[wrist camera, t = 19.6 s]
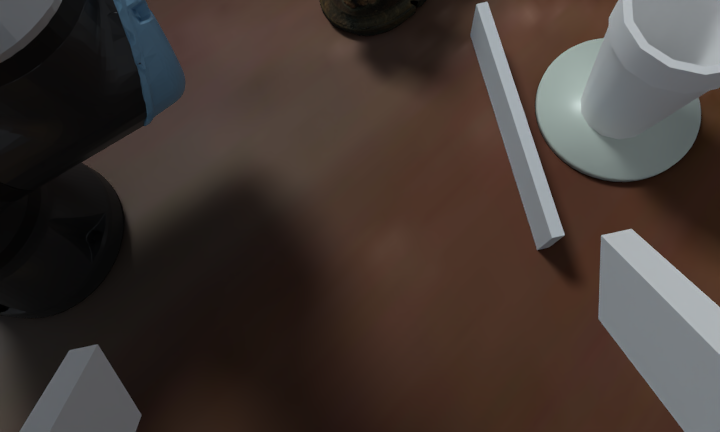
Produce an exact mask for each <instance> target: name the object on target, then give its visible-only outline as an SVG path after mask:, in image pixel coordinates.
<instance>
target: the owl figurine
mask: <svg viewBox="0 0 720 432" xmlns="http://www.w3.org/2000/svg"><path fill="white" fill-rule="evenodd" d="M410 1H419V2H418V5H417V7H420V6H421V5H422V4H423V3H424V2H425V1H426V0H320V3H321V4H320V5H321V8H322V10H323V13H324V14H325V16H326V17H327V18H328V20H329V21H330V22H331V24H332V25H333V26H336V27H338V28H340V29H342V30H345V31H347V32H351V33H355V34H358V35H368V36H370V35H375V34H379V33H383V32H387V31H389V30H391V29H393V28H395V27H397V26H398V25H400V24H401V23H402V22H404V21H405V20H406V19H407V18H408V17H410V16H412V15H413V14H414V13H415V10H416V9H415V8H416V6H414V5H413V4H411V3H410Z"/></svg>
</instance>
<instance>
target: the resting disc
mask: <svg viewBox="0 0 720 432" xmlns="http://www.w3.org/2000/svg"><path fill="white" fill-rule="evenodd" d="M603 39H604V38H602V39H595V40H590V41H586V42H583V43H581V44H578V45H576V46H574V47H572V48H570V49H568V50H567V51H565V52H564V53H562V54H561V55H560V56H559V57H557V58H556V59H555V60H554V61H553V62H552V64H551V65H550V66H549V67H548V69H547V70H546V72H545V74H544V75H543V77H542V79H541V82H540V84H539V86H538V89H537V93H536V98H535V115H536V120H537V124H538V127H539V130H540V132H541V134H542V136H543V138H544V140H545V142H546V143H547V145H548V146H549V147H550V149H551V150H552V151H553V152H554V153H555V154H556V155H557V156H558V157H559V158H560V159H561V160H562V161H563V162H564V163H566V164H567V165H569V166H570V167H572V168H573V169H575V170H577V171H579V172H581V173H583V174H585V175H588V176H590V177H593V178H597V179H601V180H605V181H612V182H632V181H639V180H643V179H648V178H650V177H653V176H656V175H658V174H660V173H662V172H664V171H666V170H667V169H668V168H670V167H671V166H673V165H674V164H675V163H677V162H678V161H679V160H680V159H681V158H682V157H683V156H685V155H686V153H687V152H688V151H689V149H690V148H691V147H692V145H693V143H694V141H695V139H696V137H697V134H698V131H699V128H700V122H701V108H700V101H699V98H696V99H695V100H693V101H692V102H690V103H688V104H687V105H685V106H684V107H682V108H680V109H679V110H677V111H676V112H674V113H673V114H671V115H669V116H668V117H666V118H665V119H663V120H661V121H660V122H658V123H657V124H655V125H653V126H652V127H650V128H649V129H647V130H645V131H644V132H642V133H641V134H639V135H637V136H636V137H631V138H625V139H615V138H610V137H606V136H602V135H601V134H599V133H598V132H597V131H595V130H594V129H592V128H591V127H590V126H589V125H588V124H587V122H586V120H585V118H584V117H583V115H582V113H581V97H582V94H583V91H584V89H585V86H586V83H587V81H588V78H589V76H590V73H591V70H592V68H593V65H594V63H595V60H596V58H597V55H598V52H599V50H600V47H601V45H602V42H603Z"/></svg>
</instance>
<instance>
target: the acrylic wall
mask: <svg viewBox="0 0 720 432" xmlns="http://www.w3.org/2000/svg"><path fill="white" fill-rule="evenodd" d="M470 36H471V39H472V43H473V46H474V49H475V52H476V55H477V59H478V62H479V65H480V68H481V71H482V75H483V78H484V81H485V84H486V87H487V91H488V94H489V97H490V100H491V103H492V107H493V110H494V113H495V116H496V119H497V123H498V126H499V129H500V132H501V135H502V139H503V142H504V145H505V148H506V151H507V155H508V158H509V161H510V164H511V167H512V171H513V174H514V177H515V180H516V183H517V187H518V190H519V193H520V196H521V199H522V203H523V206H524V209H525V212H526V215H527V219H528V222H529V225H530V228H531V231H532V235H533V238H534V241H535V244H536V248H537V250H540V249H544V248H549V247H550V246H552V245H553V244H554V243H555V242H557V241H558V240H559V239H561V238H562V237H563V236H564V235H565V234H564V231H563V228H562V225H561V222H560V219H559V216H558V213H557V210H556V207H555V204H554V201H553V198H552V195H551V192H550V189H549V186H548V183H547V180H546V177H545V174H544V171H543V168H542V165H541V162H540V159H539V156H538V153H537V150H536V147H535V144H534V141H533V138H532V135H531V132H530V129H529V126H528V123H527V120H526V117H525V113H524V110H523V107H522V104H521V101H520V98H519V95H518V92H517V89H516V86H515V83H514V80H513V77H512V74H511V71H510V68H509V65H508V62H507V59H506V56H505V53H504V50H503V47H502V44H501V41H500V38H499V35H498V32H497V29H496V26H495V23H494V20H493V17H492V14H491V11H490V8H489V5H488V2H483V3H479V4H476V9H475V14H474V19H473V24H472V29H471V34H470Z"/></svg>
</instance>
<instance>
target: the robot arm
mask: <svg viewBox="0 0 720 432" xmlns="http://www.w3.org/2000/svg"><path fill="white" fill-rule="evenodd" d="M184 89H185V76H184V73H183V70H182V68H181V66H180V63H179V61H178V59H177V57H176V55H175V53H174V51H173V49H172V47H171V45H170V44H169V42H168V40H167V38H166V36H165V34H164V32H163V31H162V29H161V27H160V25H159V23H158V22H157V20H156V18H155V16H154V15H153V13H152V12H151V11H150V10H149V8H148V5H147V3H146V1H145V0H0V315H3V316H10V317H20V318H41V317H47V316H51V315H55V314H58V313H60V312H63V311H65V310H67V309H69V308H71V307H73V306H75V305H76V304H78V303H79V302H81V301H82V300H84V299H85V298H86V297H87V296H88V295H90V294H91V293H92V292H93V291H94V290H95V289H96V288H97V287H98V286H99V284H100V283H101V282H102V281H103V279H104V278H105V277H106V275H107V274H108V272H109V271H110V269H111V267H112V265H113V263H114V261H115V259H116V257H117V254H118V251H119V248H120V245H121V240H122V234H123V215H122V209H121V205H120V202H119V199H118V197H117V194H116V192H115V191H114V189H113V187H112V186H111V185H110V183H109V182H108V181H107V180H106V179H105V178H104V177H103V176H102V175H100V174H99V173H98V172H96V171H95V170H93V169H91V168H90V167H88V166H86V165H85V164H83V163H81V162H83V161H85V160H86V159H88V158H90V157H91V156H93V155H95V154H96V153H98V152H100V151H102V150H103V149H105V148H107V147H108V146H110V145H112V144H113V143H115V142H117V141H118V140H120V139H122V138H124V137H125V136H127V135H129V134H130V133H132V132H134V131H135V130H137V129H139V128H141V127H142V126H146V125H148V124H149V123H151V121H152V120H153V117H155V116H156V115H158V114H159V113H161V112H162V111H163V110H165V109H166V108H168V107H169V106H171V105H172V104H173V103H175V102H176V101H177V100H178V99H179V98H180V97H181V96H182V94H183V92H184ZM598 319H599V320H600V321H601V323H602V324H603V325H604V327H605V328H606V329H607V331H608V332H609V333H610V335H611V336H612V337H613V339H614V340H615V341H616V342H617V344H618V345H619V346H620V348H621V349H622V350H623V352H624V353H625V354H626V356H627V357H628V358H629V360H630V361H631V362H632V363H633V365H634V366H635V367H636V369H637V370H638V371H639V373H640V374H641V375H642V377H643V378H644V379H645V381H646V382H647V383H648V384H649V386H650V387H651V388H652V390H653V391H654V392H655V394H656V395H657V396H658V398H659V399H660V400H661V402H662V403H663V404H664V405H665V407H666V408H667V409H668V411H669V412H670V413H671V415H672V416H673V417H674V419H675V420H676V421H677V423H678V424H679V425H680V426H681V428H682V429H683V430H684V432H720V307H719V306H718V305H717V304H715V303H714V302H713V301H712V300H711V299H710V298H709V297H708V296H706V295H705V294H704V293H703V292H702V291H701V290H700V289H699V288H697V287H696V286H695V285H694V284H693V283H692V282H691V281H690V280H688V279H687V278H686V277H685V276H684V275H683V274H682V273H681V272H679V271H678V270H677V269H676V268H675V267H674V266H673V265H672V264H670V263H669V262H668V261H667V260H666V259H665V258H664V257H663V256H661V255H660V254H659V253H658V252H657V251H656V250H655V249H654V248H652V247H651V246H650V245H649V244H648V243H647V242H646V241H645V240H643V239H642V238H641V237H640V236H639V235H638V234H637V233H636V232H634V231H633V230H632V229H628V230H624V231H619V232H615V233H610V234H605V235H601V256H600V286H599V317H598ZM141 416H142V415H141V413H140V411H139V410H138V408H137V407H136V405H135V403H134V402H133V400H132V399H131V397H130V395H129V394H128V392H127V390H126V389H125V387H124V386H123V384H122V382H121V381H120V379H119V378H118V376H117V374H116V373H115V371H114V369H113V368H112V366H111V365H110V363H109V361H108V360H107V358H106V356H105V355H104V353H103V352H102V350H101V348H100V347H99V345H98V344H96V345H91V346H87V347H82V348H77V349H73V350H69V352H68V353H67V355H66V357H65V358H64V360H63V361H62V363H61V365H60V366H59V368H58V370H57V371H56V373H55V374H54V376H53V378H52V379H51V381H50V383H49V384H48V386H47V387H46V389H45V391H44V392H43V394H42V396H41V397H40V399H39V400H38V402H37V404H36V405H35V407H34V409H33V410H32V412H31V414H30V415H29V417H28V418H27V420H26V422H25V423H24V425H23V427H22V428H21V430H20V431H19V432H136V429H137V426H138V424H139V421H140V418H141Z"/></svg>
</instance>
